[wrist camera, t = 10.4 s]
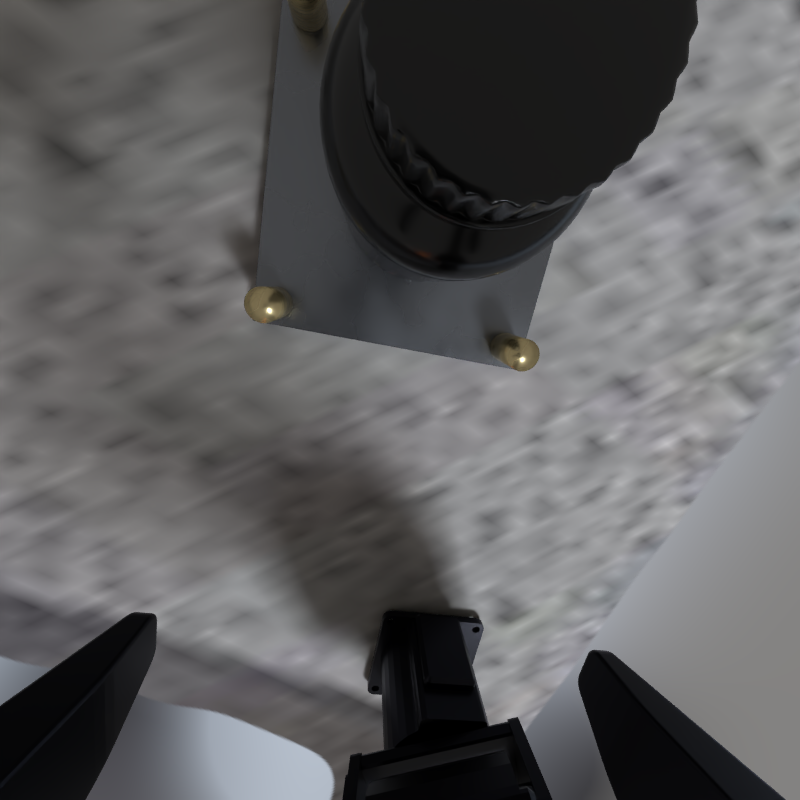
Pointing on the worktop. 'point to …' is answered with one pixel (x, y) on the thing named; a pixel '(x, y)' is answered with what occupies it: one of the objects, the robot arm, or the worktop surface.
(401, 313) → the chassis plate
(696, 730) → the robot arm
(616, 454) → the worktop surface
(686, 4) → the supplement bottle
